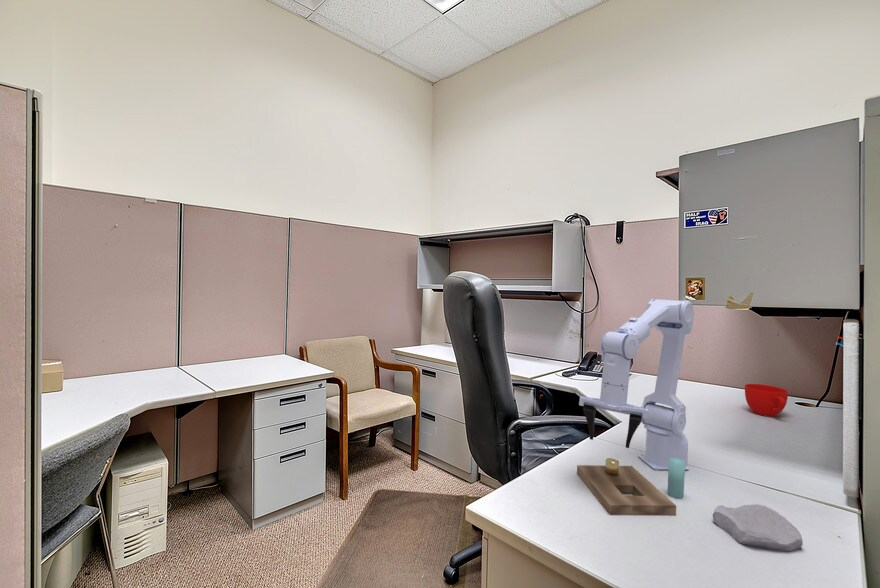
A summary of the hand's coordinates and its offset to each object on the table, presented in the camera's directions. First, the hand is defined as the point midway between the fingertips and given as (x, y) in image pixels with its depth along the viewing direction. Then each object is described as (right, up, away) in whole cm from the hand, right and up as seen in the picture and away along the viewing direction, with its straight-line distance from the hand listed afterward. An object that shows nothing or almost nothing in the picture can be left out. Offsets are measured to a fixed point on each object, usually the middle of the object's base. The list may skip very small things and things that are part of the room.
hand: (609, 442), depth 93 cm
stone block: (+22, -13, -16) cm, 30 cm away
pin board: (+3, -11, -1) cm, 11 cm away
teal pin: (+15, -12, -1) cm, 19 cm away
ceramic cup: (+85, -12, +60) cm, 105 cm away
